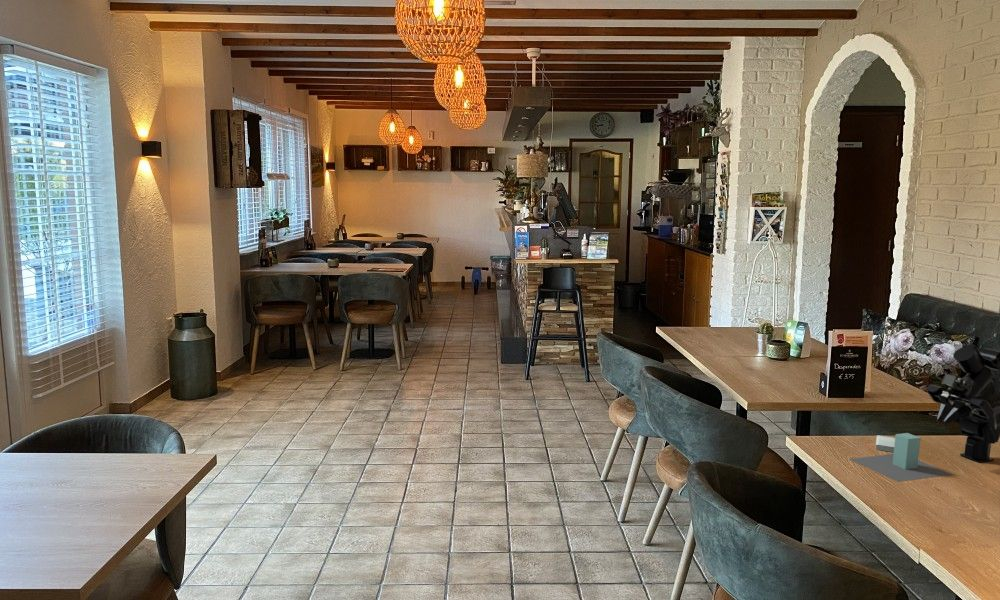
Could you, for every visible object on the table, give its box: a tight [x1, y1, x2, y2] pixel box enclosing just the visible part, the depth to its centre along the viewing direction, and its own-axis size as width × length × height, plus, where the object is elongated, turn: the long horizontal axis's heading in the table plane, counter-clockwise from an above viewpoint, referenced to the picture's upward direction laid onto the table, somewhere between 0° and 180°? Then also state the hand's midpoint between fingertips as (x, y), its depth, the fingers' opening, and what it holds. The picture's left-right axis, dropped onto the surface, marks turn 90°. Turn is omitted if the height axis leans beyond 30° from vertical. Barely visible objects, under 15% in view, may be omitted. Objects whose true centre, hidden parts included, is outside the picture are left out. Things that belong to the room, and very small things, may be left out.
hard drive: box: [875, 434, 895, 453], centre depth 235 cm, size 2×8×12 cm
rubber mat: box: [848, 453, 954, 483], centre depth 217 cm, size 20×18×1 cm
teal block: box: [893, 432, 921, 469], centre depth 217 cm, size 4×4×9 cm
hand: (941, 422), depth 220 cm, fingers closed
